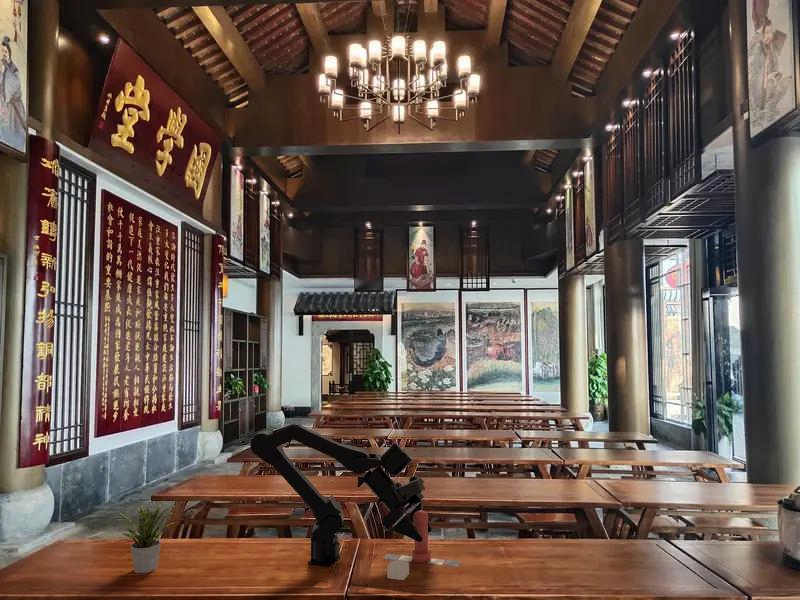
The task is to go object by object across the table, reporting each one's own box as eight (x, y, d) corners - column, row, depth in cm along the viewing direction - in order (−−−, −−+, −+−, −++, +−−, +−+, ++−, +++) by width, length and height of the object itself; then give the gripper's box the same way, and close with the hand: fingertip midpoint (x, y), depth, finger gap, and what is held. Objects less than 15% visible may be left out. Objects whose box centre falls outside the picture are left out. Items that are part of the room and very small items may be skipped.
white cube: (387, 583, 145) (387, 565, 145) (393, 577, 149) (393, 560, 149) (403, 585, 144) (403, 567, 144) (409, 579, 148) (409, 561, 148)
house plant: (192, 564, 159) (193, 498, 160) (150, 583, 146) (151, 512, 147) (151, 556, 165) (152, 493, 166) (107, 574, 152) (108, 506, 153)
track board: (378, 565, 156) (378, 561, 156) (389, 555, 164) (389, 551, 164) (456, 574, 150) (456, 569, 150) (463, 563, 157) (463, 558, 158)
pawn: (409, 562, 156) (409, 512, 156) (415, 556, 160) (414, 507, 161) (427, 564, 154) (426, 513, 155) (432, 557, 158) (431, 508, 159)
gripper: (393, 474, 151) (438, 524, 147) (416, 460, 169) (456, 505, 164) (363, 505, 153) (406, 556, 149) (389, 488, 171) (428, 533, 166)
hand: (426, 535), depth 157 cm, fingers open, 8 cm apart
